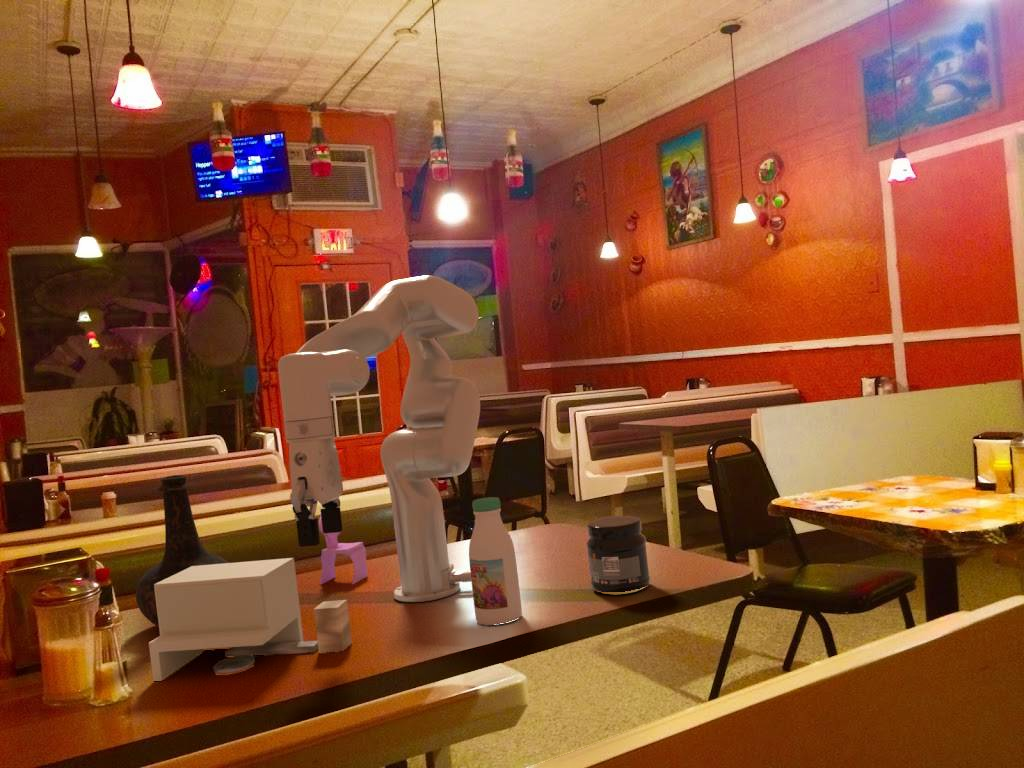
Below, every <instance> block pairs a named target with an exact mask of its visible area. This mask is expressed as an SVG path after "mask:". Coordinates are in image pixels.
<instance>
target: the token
mask: <svg viewBox="0 0 1024 768" xmlns="http://www.w3.org/2000/svg"><path fill="white" fill-rule="evenodd" d="M255 659H256V658H255V656H251V655H240V656H234V657H230V658H224V659H222V660H219V661H217V662H216V663H215V664H213V667H212V668H213V673H214V672H215V673H218V674H228V673H234V672H239V671H242V670H245V669H247V668H249V667H251V666H253V665H254V663H255V664H256V660H255ZM254 666H255V665H254ZM254 666H253V667H254Z"/></svg>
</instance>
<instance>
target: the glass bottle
mask: <svg viewBox="0 0 1024 768" xmlns="http://www.w3.org/2000/svg"><path fill="white" fill-rule="evenodd" d="M160 483H161V486H160V487H158V488H157V491H158V492H162V497H163V498H162V499H163V510H164V513H163V514H164V529H165V531H164V532H165V534H164V535H165V536H164V537H165V539H164V540H165V541H164V542H165V546H164V555H163V558H162V559H161V561H160V562H159V563H157V564H156V565H154V566H152V567H151V568H149V569H147V571H146V572H145V573H143V575H142V576H141V578H140V579H139V581H138V583H137V586H136V592H135V600H136V605H137V607H138V609H139V612H141V614H142V615H143V617H145V618H146V619H147V620H148V621H149V622H150V623H151V624H153V625H155V626H156V627H158V628H159V622H158V614H157V606H156V598H155V589H154V584H156V583H158V582H160V581H162V580H164V579H166V578H168V577H171V576H173V575H175V574H177V573H179V572H181V571H183V570H185V569H187V568H189V567H191V566H200V565H212V564H224V563H230V562H229V561H228V560H226V559H225V558H223V557H221V556H218V555H216V554H212V553H210V552H208V551H207V550H206V548H205V547H204V545H203V543H202V541H201V539H200V536H199V533H198V531H197V526H196V523H195V519H194V516H193V511H192V506H191V502H190V496H189V491H188V487H189V485H188V484H187V476H186V475H184V474H183V475H182V474H177V475H170V476H164V477H162V478H160Z"/></svg>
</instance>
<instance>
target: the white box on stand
mask: <svg viewBox="0 0 1024 768" xmlns="http://www.w3.org/2000/svg"><path fill="white" fill-rule="evenodd" d="M154 589H155V598H156V606H157V614H158V622H159V627H158V629H159V636H158V637H156V638H154V639H153V640H151V641H149V642H148V648H149V655H150V665H151V674H152V681H162V680H164V679H165V678H166V677H168V676H169V675H171V674H172V673H173V672H175V671H176V670H178V669H179V668H180V667H182V666H183V665H184V664H186V663H187V662H188V661H190V660H192V659H193V658H195V657H196V656H197V655H198V654H200V653H201V652H202V651H204V650H205V649H211V648H212V649H213V648H228V647H229V648H230V647H241V646H256V645H263V644H274V643H289V642H304V641H305V640H304V635H303V634H304V633H303V625H302V615H301V608H300V600H299V590H298V582H297V573H296V565H295V558H294V557H286V558H275V559H263V560H261V559H260V560H251V561H249V560H248V561H239V562H229V563H224V564H212V565H200V566H191V567H189V568H187V569H185V570H183V571H181V572H179V573H177V574H175V575H173V576H171V577H168V578H166V579H164V580H162V581H160V582H158V583H156V584H154ZM195 659H196V658H195ZM192 661H193V660H192ZM182 668H183V667H182ZM179 670H180V669H179ZM179 670H178V671H179ZM175 673H176V672H175ZM172 675H173V674H172ZM172 675H171V676H172ZM169 677H170V676H169ZM169 677H168V678H169ZM165 680H166V679H165ZM165 680H164V681H165ZM162 682H163V681H162Z"/></svg>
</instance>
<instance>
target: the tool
mask: <svg viewBox="0 0 1024 768" xmlns="http://www.w3.org/2000/svg"><path fill="white" fill-rule="evenodd" d="M348 606H349V605H348V600H347V599H342V600H341V599H339V600H337V599H336V600H327V601H322V602H320V604H318V605H317V606H316V607H315V608H313V614H314V623H315V631H316V632H315V633H316V640H307V641H305V640H303V641H304V642H289V643H274V644H263V645H256V646H241V647H231V648H229V649H227V650H225V651H224V655H225V656H224V657H227V656H240V655H264V656H275V655H276V654H279V655H292V654H293V655H294V654H309V653H308V652H310V653H316V652H317V651H318V654H319V653H320V654H330V653H329V652H335V653H338V652H337V651H344V650H345V649H346V647H348V646H351V645H352V643H353V641H352V631H351V624H350V623H351V622H350V617H349V616H350V614H349V607H348ZM348 648H349V647H348ZM346 650H347V649H346ZM346 650H345V651H346ZM345 651H344V652H345ZM327 652H328V653H327ZM274 654H275V655H274ZM276 656H277V655H276Z"/></svg>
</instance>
